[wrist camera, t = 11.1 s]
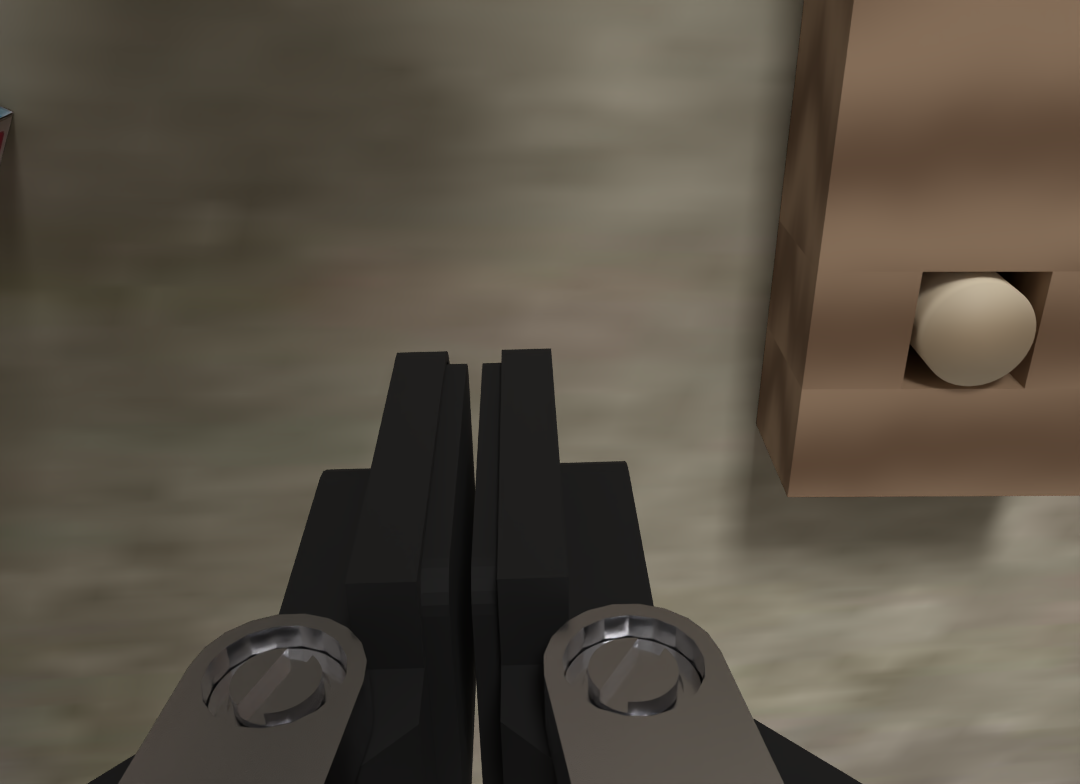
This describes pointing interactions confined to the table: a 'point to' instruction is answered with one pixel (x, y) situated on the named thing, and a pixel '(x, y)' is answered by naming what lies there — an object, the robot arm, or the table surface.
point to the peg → (971, 326)
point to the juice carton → (4, 127)
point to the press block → (925, 247)
